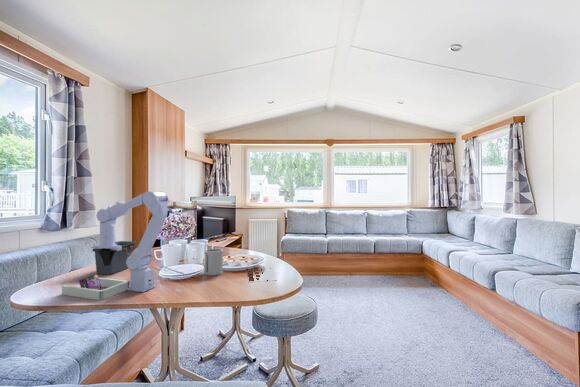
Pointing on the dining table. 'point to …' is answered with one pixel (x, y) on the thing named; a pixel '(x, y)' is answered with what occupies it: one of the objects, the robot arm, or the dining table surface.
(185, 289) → the dining table surface
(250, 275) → the chocolate bar
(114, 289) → the open box
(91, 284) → the game card
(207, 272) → the cup
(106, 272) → the storage bin
